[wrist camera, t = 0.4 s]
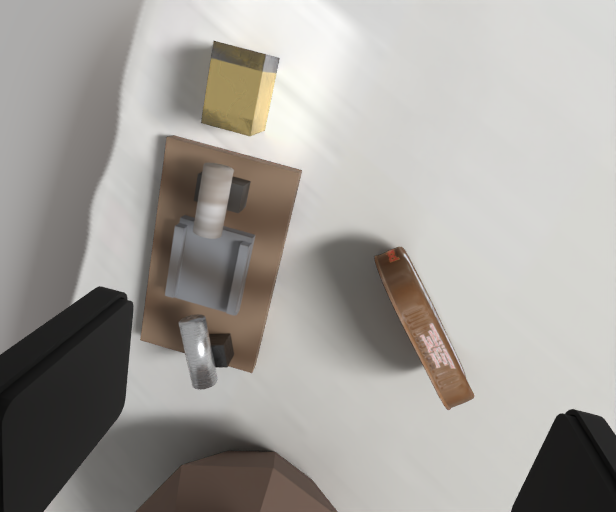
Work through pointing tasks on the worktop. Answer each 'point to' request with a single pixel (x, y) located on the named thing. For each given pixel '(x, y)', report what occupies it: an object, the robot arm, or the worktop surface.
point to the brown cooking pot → (238, 486)
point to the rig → (217, 245)
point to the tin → (423, 327)
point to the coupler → (239, 89)
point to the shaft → (204, 350)
